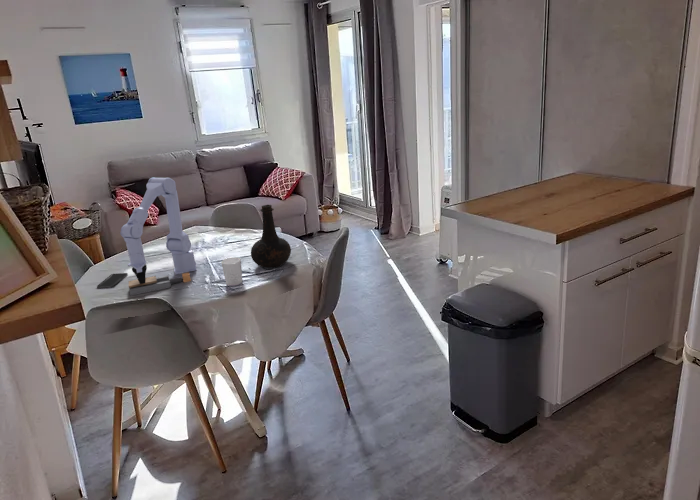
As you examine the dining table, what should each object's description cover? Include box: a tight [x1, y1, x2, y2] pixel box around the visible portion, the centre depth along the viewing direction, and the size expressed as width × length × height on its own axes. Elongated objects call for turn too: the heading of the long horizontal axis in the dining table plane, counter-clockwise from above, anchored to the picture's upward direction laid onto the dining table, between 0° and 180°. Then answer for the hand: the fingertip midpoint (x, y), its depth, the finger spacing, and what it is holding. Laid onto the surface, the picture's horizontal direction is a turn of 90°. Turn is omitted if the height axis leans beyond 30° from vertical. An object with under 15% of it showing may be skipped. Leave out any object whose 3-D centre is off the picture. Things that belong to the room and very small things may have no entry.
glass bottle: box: [250, 204, 292, 269], centre depth 228 cm, size 18×18×28 cm
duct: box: [128, 275, 172, 296], centre depth 215 cm, size 16×8×3 cm, turn 113°
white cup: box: [221, 257, 243, 287], centre depth 213 cm, size 8×8×10 cm
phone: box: [96, 272, 129, 289], centre depth 226 cm, size 8×1×15 cm
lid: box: [128, 275, 157, 289], centre depth 214 cm, size 11×8×1 cm
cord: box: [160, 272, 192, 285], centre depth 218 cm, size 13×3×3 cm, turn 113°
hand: (142, 283), depth 211 cm, fingers closed, pressing on lid
